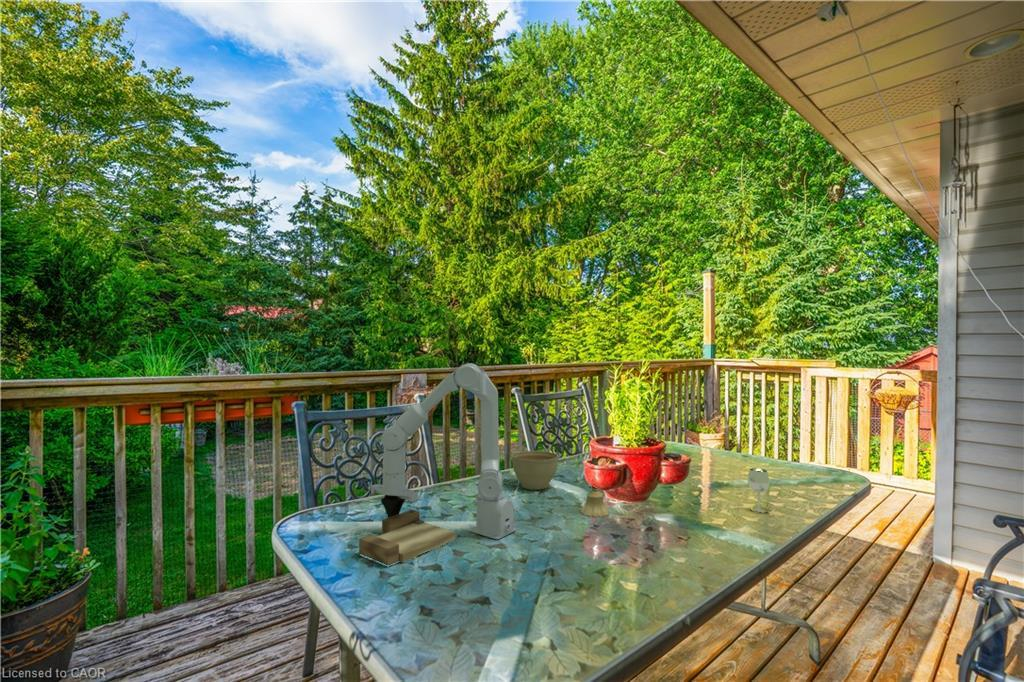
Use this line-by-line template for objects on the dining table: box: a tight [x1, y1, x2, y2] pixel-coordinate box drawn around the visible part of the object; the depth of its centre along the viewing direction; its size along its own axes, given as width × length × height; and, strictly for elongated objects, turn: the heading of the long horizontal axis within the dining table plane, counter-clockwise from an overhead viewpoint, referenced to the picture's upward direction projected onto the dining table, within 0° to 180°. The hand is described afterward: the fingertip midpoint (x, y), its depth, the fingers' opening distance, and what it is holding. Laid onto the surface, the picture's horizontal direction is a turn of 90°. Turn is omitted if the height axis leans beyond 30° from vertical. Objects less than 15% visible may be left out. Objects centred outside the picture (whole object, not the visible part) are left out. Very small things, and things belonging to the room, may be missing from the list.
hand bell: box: [580, 457, 610, 518], centre depth 144 cm, size 8×8×16 cm
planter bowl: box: [511, 450, 559, 490], centre depth 171 cm, size 16×16×11 cm
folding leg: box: [381, 509, 421, 535], centre depth 128 cm, size 3×10×4 cm, turn 145°
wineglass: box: [747, 467, 770, 512], centre depth 147 cm, size 6×6×12 cm
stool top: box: [358, 519, 457, 565], centre depth 118 cm, size 13×20×4 cm, turn 144°
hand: (393, 524), depth 129 cm, fingers closed
